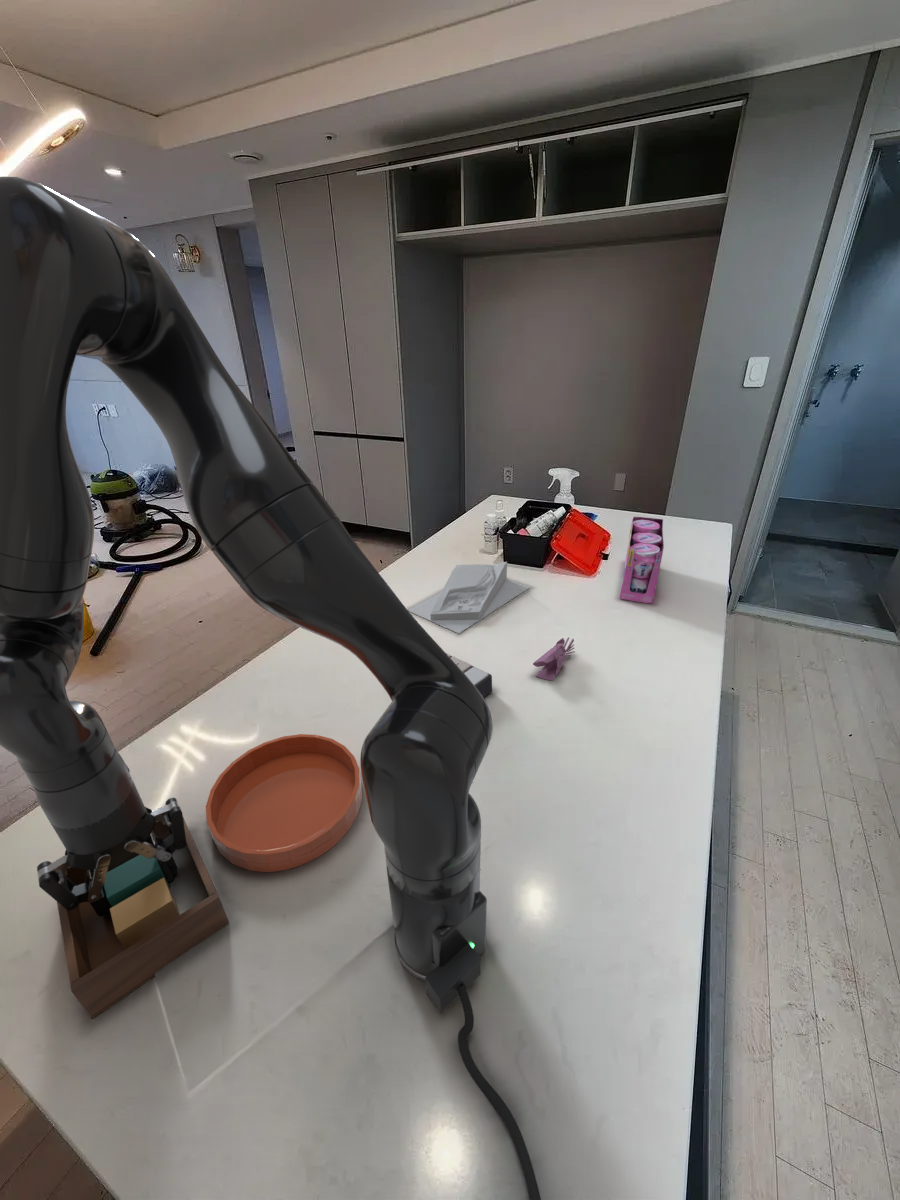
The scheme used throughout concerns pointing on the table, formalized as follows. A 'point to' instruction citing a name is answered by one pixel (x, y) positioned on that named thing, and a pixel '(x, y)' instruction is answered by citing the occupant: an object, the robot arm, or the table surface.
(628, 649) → the table surface
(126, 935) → the tan rectangular block
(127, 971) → the holder
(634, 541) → the gum box
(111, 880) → the teal rectangular block
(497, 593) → the ramp
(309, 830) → the bowl
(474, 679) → the red and grey box
